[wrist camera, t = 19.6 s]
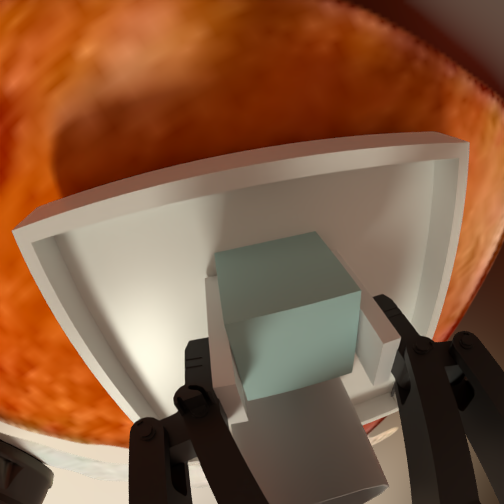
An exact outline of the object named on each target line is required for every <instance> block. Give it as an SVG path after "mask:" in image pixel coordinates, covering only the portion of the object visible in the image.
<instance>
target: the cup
mask: <svg viewBox="0 0 504 504" xmlns="http://www.w3.org/2000/svg"><path fill="white" fill-rule="evenodd" d="M242 388H243V385H242ZM243 394H244V399H245V405H246V410H247V415H248V421H246V422H240V423H235V424H231V428H232V434H233V438H234V440H235V442H236V444H237V446H238V448H239V450H240V452H241V454H242V456H243V458H244V460H245V461H246V463H247V465H248V467H249V469H250V471H251V472H252V474H253V476H254V478H255V480H256V481H257V483H258V485H259V487H260V488H261V490H262V492H263V494H264V495H265V497H266V499H267V501H268V502H269V504H364V503H365V502H367V501H369V500H371V499H373V498H374V497H376V496H378V495H380V494H381V493H382V492H383V491H385V490H386V489H387V488H388V487H389V485H388V482H387V480H386V478H385V475H384V473H383V471H382V468H381V466H380V464H379V462H378V459H377V457H376V455H375V453H374V450H373V448H372V446H371V444H370V441H369V439H368V437H367V435H366V432H365V430H364V428H363V426H362V424H361V421H360V419H359V417H358V415H357V413H356V411H355V408H354V406H353V404H352V402H351V400H350V398H349V395H348V393H347V391H346V389H345V387H344V385H343V382H342V380H341V378H340V377H337V378H334V379H331V380H327V381H324V382H321V383H317V384H314V385H310V386H307V387H303V388H300V389H296V390H292V391H288V392H284V393H280V394H276V395H272V396H268V397H263V398H259V399H254V400H250V401H248V400H247V397H246V394H245V391H244V388H243Z"/></svg>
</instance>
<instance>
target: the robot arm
mask: <svg viewBox="0 0 504 504" xmlns="http://www.w3.org/2000/svg"><path fill="white" fill-rule="evenodd" d="M332 253H333V254H334V255H335V256H336V258H337V259H338V260H339V262H340V263H341V264H342V265H343V267H344V268H345V269H346V271H347V272H348V273H349V275H350V276H351V277H352V279H353V280H354V281H355V283H356V284H357V285H358V286H359V288H360V289H361V301H360V312H359V322H358V331H357V340H356V348H355V353H356V355H357V357H358V359H359V361H360V362H361V364H362V366H363V368H364V370H365V372H366V374H367V376H368V378H369V379H370V381H371V383H372V385H373V386H376V385H378V384H381V383H384V382H386V381H389V378H390V375H391V373H392V374H393V376H394V378H395V382H394V385H393V388H392V391H391V397H393V396H394V393H395V394H396V399H397V403H398V409H399V413H400V419H401V424H402V430H403V436H404V442H405V448H406V455H407V462H408V469H409V477H410V485H411V496H412V504H481V503H480V501H479V497H478V491H477V485H476V479H475V474H474V469H473V464H472V461H471V455H470V451H469V447H468V443H467V439H466V436H467V438H468V440H469V441H470V443H471V445H472V447H473V449H474V451H475V453H476V455H477V457H478V459H479V461H480V463H481V464H482V467H483V469H484V471H485V473H486V475H487V477H488V479H489V481H490V483H491V485H492V487H493V489H494V492H495V494H496V496H497V498H498V500H499V502H500V504H504V372H503V370H502V369H501V367H500V366H499V365H498V363H497V362H496V361H495V359H494V358H493V357H492V356H491V354H490V353H489V351H488V350H487V349H486V348H485V346H484V345H483V344H482V343H481V341H480V340H479V339H478V338H477V337H476V336H475V335H474V334H473V333H470V332H467V331H462V332H458V333H457V334H455V336H454V338H453V340H452V341H446V342H434V341H433V340H431V339H430V338H428V337H425V336H420V335H419V334H418V332H417V331H416V330H415V328H414V327H413V326H412V324H411V323H410V322H409V320H408V319H407V318H406V317H405V315H404V314H402V311H401V310H400V309H399V308H398V306H397V305H396V304H395V303H394V301H393V300H392V299H391V298H389V297H387V296H386V295H384V294H381V295H377V296H374V297H372V296H371V295H370V293H369V292H368V291H367V289H366V288H365V287H364V285H363V284H362V283H361V282H360V280H359V279H358V278H357V276H356V275H355V274H354V272H353V271H352V270H351V268H350V267H349V266H348V265H347V263H346V262H345V261H344V259H343V258H342V257H341V256H340V254H339V253H338V252H337V250H333V251H332ZM205 291H206V308H207V323H208V336H209V337H206V338H201V339H196V340H190V341H189V342H188V344H187V346H186V348H185V385H183V386H181V387H180V388H179V389H178V390H177V391H176V392H175V395H174V397H173V402H174V405H175V407H176V408H177V410H178V411H177V412H176V413H175V414H173V415H171V416H169V417H166V418H164V419H161V420H157V419H155V418H153V417H145V418H141V419H139V420H138V421H136V422H135V423H134V424H133V426H132V427H131V431H130V442H129V504H192V497H191V487H190V478H189V469H188V461H189V460H191V459H193V458H196V457H198V460H199V462H200V465H201V467H202V469H203V472H204V474H205V476H206V479H207V481H208V483H209V485H210V488H211V490H212V492H213V494H214V496H215V498H216V501H217V503H218V504H269V502H268V501H267V499H266V497H265V495H264V494H263V492H262V490H261V488H260V487H259V485H258V483H257V481H256V480H255V478H254V476H253V474H252V472H251V471H250V469H249V467H248V465H247V463H246V461H245V460H244V458H243V456H242V454H241V452H240V450H239V448H238V446H237V444H236V442H235V440H234V438H233V436H232V434H231V432H230V430H229V425H228V422H229V424H235V423H240V422H246V421H248V415H247V410H246V405H245V399H244V394H243V388H242V382H241V379H240V375H239V372H238V369H237V366H236V363H235V359H234V356H233V353H232V349H231V346H230V343H229V340H228V336H227V333H226V329H225V326H224V321H223V314H222V307H221V300H220V293H219V286H218V278H217V276H213V277H208V278H205ZM465 434H466V435H465ZM53 476H54V474H53V472H52V471H51V470H50V469H49V468H48V467H47V466H45V465H44V464H43V463H41V462H40V461H38V460H36V459H35V458H33V457H31V456H30V455H28V454H26V453H24V452H22V451H20V450H19V449H17V448H15V447H13V446H11V445H9V444H6V443H4V442H2V441H0V504H42V503H43V500H44V498H45V496H46V494H47V491H48V489H49V488H51V486H52V484H53Z"/></svg>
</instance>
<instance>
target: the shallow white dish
mask: <svg viewBox="0 0 504 504" xmlns="http://www.w3.org/2000/svg"><path fill="white" fill-rule="evenodd" d="M469 143H470V142H467V141H464V140H461V139H458V138H455V137H452V136H449V135H445V134H442V133H439V132H405V133H387V134H372V135H360V136H349V137H339V138H330V139H321V140H313V141H305V142H298V143H290V144H284V145H277V146H271V147H265V148H259V149H253V150H247V151H242V152H236V153H231V154H226V155H221V156H216V157H211V158H206V159H202V160H197V161H192V162H188V163H184V164H179V165H175V166H171V167H167V168H163V169H159V170H155V171H151V172H147V173H143V174H140V175H136V176H132V177H129V178H125V179H122V180H118V181H115V182H111V183H108V184H105V185H101V186H98V187H95V188H92V189H89V190H86V191H82V192H79V193H76V194H73V195H70V196H67V197H64V198H62V199H59V200H56V201H53V202H50V203H47V204H45V205H42V206H39V207H37V208H36V209H35V210H34V211H33V212H32V213H30V214H29V215H28V216H27V217H26V218H25V219H24V220H23V221H22V222H21V223H20V224H18V225H17V226H16V227H15V228H14V229H13V230H12V233H13V235H14V237H15V240H16V242H17V244H18V246H19V249H20V251H21V253H22V255H23V257H24V259H25V262H26V264H27V266H28V268H29V270H30V272H31V274H32V276H33V278H34V280H35V282H36V284H37V285H38V287H39V289H40V291H41V293H42V295H43V297H44V298H45V300H46V302H47V304H48V305H49V307H50V309H51V311H52V312H53V314H54V316H55V317H56V319H57V321H58V322H59V324H60V326H61V327H62V329H63V330H64V332H65V333H66V335H67V337H68V338H69V340H70V341H71V343H72V344H73V346H74V347H75V349H76V350H77V352H78V353H79V354H80V356H81V357H82V359H83V360H84V362H85V363H86V364H87V366H88V367H89V369H90V370H91V371H92V373H93V374H94V375H95V377H96V378H97V379H98V381H99V382H100V383H101V384H102V386H103V387H104V388H105V390H106V391H107V392H108V393H109V395H110V396H111V397H112V398H113V399H114V401H115V402H116V403H117V404H118V406H119V407H120V408H121V409H122V410H123V411H124V413H125V414H126V415H127V416H128V417H129V418H130V419H131V421H132V422H133V423H135V422H136V421H138V420H139V419H141V418H145V417H153V418H155V419H157V420H161V419H164V418H166V417H169V416H171V415H173V414H175V413H176V412H177V411H178V410H177V408H176V407H175V405H174V402H173V397H174V395H175V392H176V391H177V390H178V389H179V388H180V387H181V386H183V385H185V348H186V346H187V344H188V342H189V341H190V340H196V339H201V338H206V337H209V336H208V323H207V308H206V291H205V278H208V277H213V276H217V271H216V263H215V255H214V253H217V252H221V251H226V250H230V249H235V248H240V247H244V246H249V245H253V244H258V243H263V242H267V241H272V240H277V239H281V238H286V237H291V236H295V235H300V234H305V233H309V232H314V231H316V233H317V234H318V235H319V236H320V237H321V239H322V240H323V241H324V243H325V244H326V245H327V246H328V248H329V249H330V250H331V251H333V250H337V252H338V253H339V254H340V256H341V257H342V258H343V259H344V261H345V262H346V263H347V265H348V266H349V267H350V268H351V270H352V271H353V272H354V274H355V275H356V276H357V278H358V279H359V280H360V282H361V283H362V284H363V285H364V287H365V288H366V289H367V291H368V292H369V293H370V295H371V296H372V297H374V296H377V295H381V294H384V295H386V296H387V297H389V298H391V299H392V300H393V301H394V303H395V304H396V305H397V306H398V308H399V309H400V310H401V311H402V314H404V315H405V317H406V318H407V319H408V320H409V322H410V323H411V324H412V326H413V327H414V328H415V330H416V331H417V332H418V334H419V335H420V336H425V337H428V338H430V339H431V340H432V338H433V335H434V332H435V329H436V326H437V323H438V320H439V317H440V314H441V310H442V307H443V304H444V300H445V296H446V293H447V289H448V285H449V281H450V277H451V273H452V269H453V265H454V260H455V255H456V251H457V246H458V241H459V235H460V229H461V223H462V217H463V210H464V203H465V195H466V186H467V175H468V162H469ZM340 378H341V380H342V382H343V385H344V387H345V389H346V391H347V393H348V395H349V398H350V400H351V402H352V404H353V406H354V408H355V411H356V413H357V415H358V417H359V419H360V421H361V424H362V425H364V424H367V423H370V422H372V421H375V420H377V419H380V418H382V417H385V416H387V415H389V414H392V413H394V412H396V411H399V409H398V403H397V399H396V394H395V393H394V396H393V397H391V391H392V388H393V385H394V382H395V378H394V376H393V374H392V373H391V375H390V378H389V381H386V382H384V383H381V384H378V385H376V386H373V385H372V383H371V381H370V379H369V378H368V376H367V374H366V372H365V370H364V368H363V366H362V364H361V362H360V361H359V359H358V357H357V355H356V353H355V356H354V363H353V370H352V373H349V374H346V375H343V376H340ZM228 425H229V430H230V432H231V434H232V428H231V424H229V422H228ZM232 436H233V434H232ZM195 464H200V462H199V460H198V457H196V458H193V459H191V460H189V461H188V465H195Z"/></svg>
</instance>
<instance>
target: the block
mask: <svg viewBox="0 0 504 504" xmlns="http://www.w3.org/2000/svg"><path fill="white" fill-rule="evenodd" d="M214 255H215V263H216V271H217V278H218V286H219V293H220V300H221V307H222V314H223V321H224V326H225V329H226V333H227V336H228V340H229V343H230V346H231V349H232V353H233V356H234V359H235V363H236V366H237V369H238V372H239V375H240V379H241V382H242V385H243V388H244V391H245V394H246V397H247V400H248V401H250V400H254V399H259V398H263V397H268V396H272V395H276V394H280V393H284V392H288V391H292V390H296V389H300V388H303V387H307V386H310V385H314V384H317V383H321V382H324V381H327V380H331V379H334V378H337V377H340V376H343V375H346V374H349V373H352V370H353V363H354V356H355V348H356V340H357V331H358V322H359V312H360V301H361V289H360V288H359V286H358V285H357V284H356V283H355V281H354V280H353V279H352V277H351V276H350V275H349V273H348V272H347V271H346V269H345V268H344V267H343V265H342V264H341V263H340V262H339V260H338V259H337V258H336V256H335V255H334V254H333V253H332V251H331V250H330V249H329V248H328V246H327V245H326V244H325V243H324V241H323V240H322V239H321V237H320V236H319V235H318V234H317V233H316V231H314V232H309V233H305V234H300V235H295V236H291V237H286V238H281V239H277V240H272V241H267V242H263V243H258V244H253V245H249V246H244V247H240V248H235V249H230V250H226V251H221V252H217V253H214Z"/></svg>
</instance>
